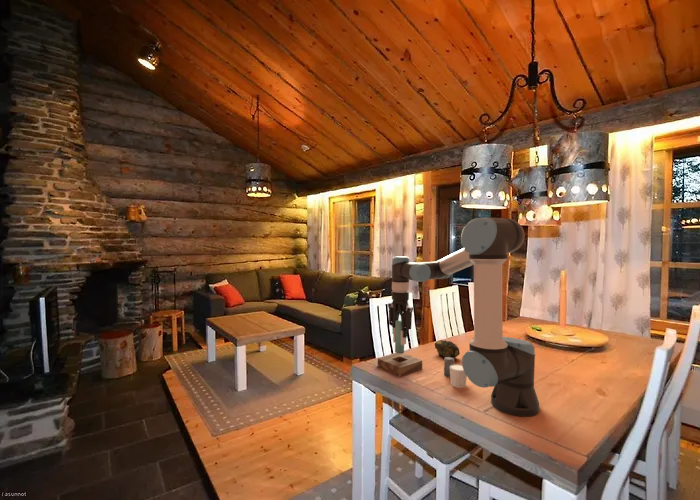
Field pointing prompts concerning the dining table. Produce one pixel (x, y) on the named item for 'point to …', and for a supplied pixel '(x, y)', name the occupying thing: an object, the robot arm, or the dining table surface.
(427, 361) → the dining table surface
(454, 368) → the shot glass
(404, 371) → the hole block
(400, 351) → the long dowel
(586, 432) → the dining table surface
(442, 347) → the rock
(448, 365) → the short dowel
